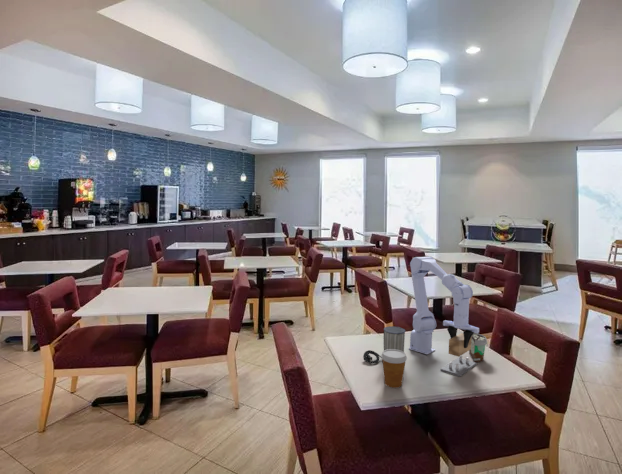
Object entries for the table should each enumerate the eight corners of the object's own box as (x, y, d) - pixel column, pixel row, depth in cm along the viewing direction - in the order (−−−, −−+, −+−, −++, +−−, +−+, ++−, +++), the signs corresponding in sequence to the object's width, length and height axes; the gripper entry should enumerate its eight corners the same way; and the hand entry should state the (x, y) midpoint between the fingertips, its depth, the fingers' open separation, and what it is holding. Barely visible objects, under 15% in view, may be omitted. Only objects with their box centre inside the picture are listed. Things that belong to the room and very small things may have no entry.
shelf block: (448, 353, 159) (449, 339, 159) (460, 346, 168) (461, 333, 167) (458, 356, 156) (459, 342, 156) (470, 349, 165) (471, 335, 164)
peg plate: (440, 370, 159) (440, 362, 159) (458, 359, 171) (458, 352, 171) (459, 376, 154) (459, 368, 153) (476, 364, 166) (476, 357, 165)
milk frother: (409, 365, 164) (410, 331, 163) (379, 372, 157) (380, 336, 156) (387, 353, 177) (388, 322, 176) (359, 359, 170) (360, 326, 168)
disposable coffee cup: (377, 378, 151) (378, 348, 150) (401, 378, 152) (402, 348, 151) (384, 390, 142) (385, 358, 141) (409, 389, 142) (410, 358, 141)
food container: (489, 364, 166) (490, 342, 165) (474, 363, 167) (475, 340, 166) (482, 354, 178) (483, 332, 177) (468, 352, 179) (469, 331, 178)
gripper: (440, 312, 163) (438, 343, 164) (474, 319, 153) (473, 353, 154) (447, 309, 168) (446, 339, 169) (481, 316, 158) (480, 348, 159)
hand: (459, 345), depth 162 cm, fingers closed on shelf block, 4 cm apart
